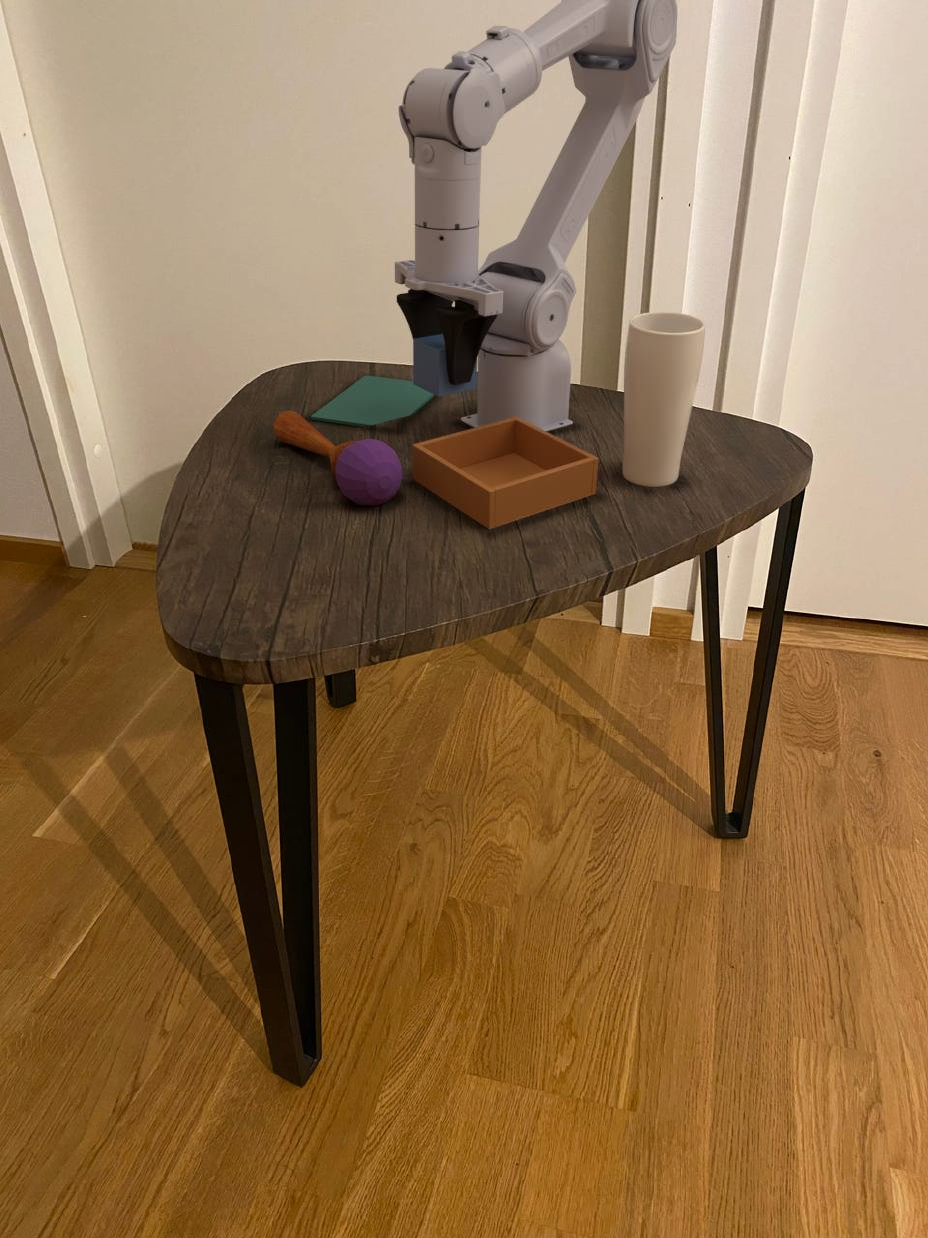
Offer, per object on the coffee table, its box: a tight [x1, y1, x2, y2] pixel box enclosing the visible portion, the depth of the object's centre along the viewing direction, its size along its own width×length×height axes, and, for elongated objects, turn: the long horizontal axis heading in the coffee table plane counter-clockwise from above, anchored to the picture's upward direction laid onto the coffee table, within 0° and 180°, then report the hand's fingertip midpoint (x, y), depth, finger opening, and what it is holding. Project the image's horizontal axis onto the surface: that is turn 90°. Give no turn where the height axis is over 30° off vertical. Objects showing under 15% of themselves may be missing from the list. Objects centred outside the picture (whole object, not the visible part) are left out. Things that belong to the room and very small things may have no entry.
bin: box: [412, 417, 599, 530], centre depth 91 cm, size 12×12×4 cm
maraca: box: [273, 410, 404, 507], centre depth 93 cm, size 6×6×20 cm
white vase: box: [621, 311, 706, 488], centre depth 90 cm, size 7×7×15 cm
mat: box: [310, 374, 436, 428], centre depth 110 cm, size 14×10×1 cm
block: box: [412, 334, 478, 398], centre depth 93 cm, size 4×4×4 cm
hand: (444, 375), depth 94 cm, fingers closed on block, 4 cm apart
